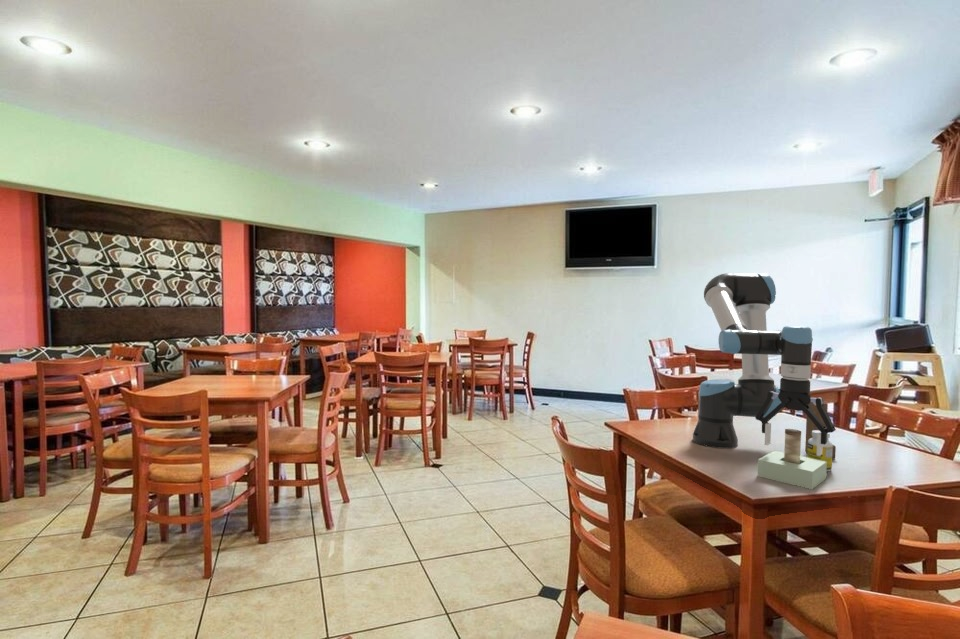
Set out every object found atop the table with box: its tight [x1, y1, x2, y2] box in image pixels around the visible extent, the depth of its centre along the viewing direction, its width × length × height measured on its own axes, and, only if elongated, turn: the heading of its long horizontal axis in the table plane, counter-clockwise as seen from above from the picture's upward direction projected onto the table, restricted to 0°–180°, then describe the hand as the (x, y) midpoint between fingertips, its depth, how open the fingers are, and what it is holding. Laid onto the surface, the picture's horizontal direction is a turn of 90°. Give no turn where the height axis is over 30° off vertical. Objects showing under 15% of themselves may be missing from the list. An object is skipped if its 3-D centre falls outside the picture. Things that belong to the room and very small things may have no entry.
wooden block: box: [804, 401, 837, 460], centre depth 170 cm, size 9×4×18 cm, turn 0°
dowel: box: [783, 428, 802, 465], centre depth 147 cm, size 4×4×14 cm
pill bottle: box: [806, 430, 834, 472], centre depth 156 cm, size 6×6×12 cm
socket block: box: [757, 450, 827, 490], centre depth 148 cm, size 14×14×5 cm
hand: (792, 449), depth 147 cm, fingers open, 13 cm apart
